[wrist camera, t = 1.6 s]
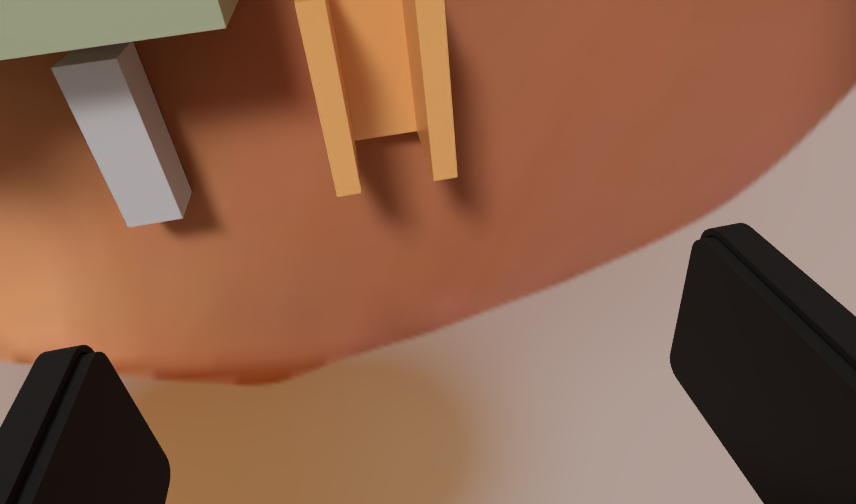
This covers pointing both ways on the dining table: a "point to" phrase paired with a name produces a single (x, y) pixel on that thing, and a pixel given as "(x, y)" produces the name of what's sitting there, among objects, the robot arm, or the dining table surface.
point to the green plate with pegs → (115, 86)
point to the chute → (379, 79)
